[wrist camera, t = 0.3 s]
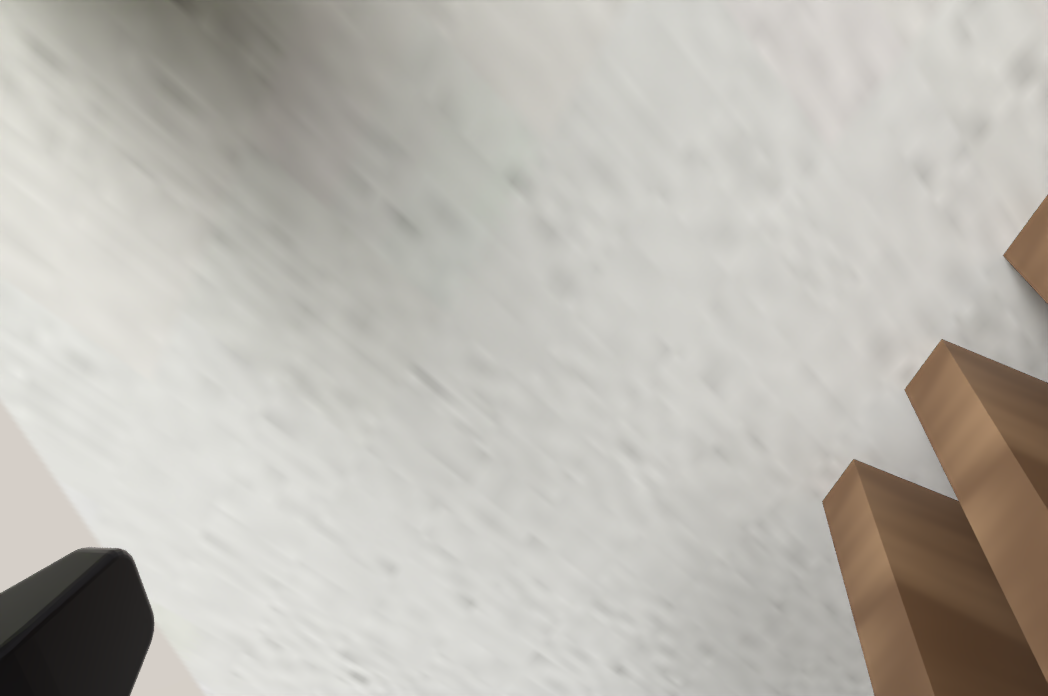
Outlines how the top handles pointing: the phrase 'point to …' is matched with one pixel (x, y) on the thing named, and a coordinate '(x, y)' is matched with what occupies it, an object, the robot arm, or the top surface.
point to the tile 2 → (995, 469)
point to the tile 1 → (924, 593)
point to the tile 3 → (1033, 251)
